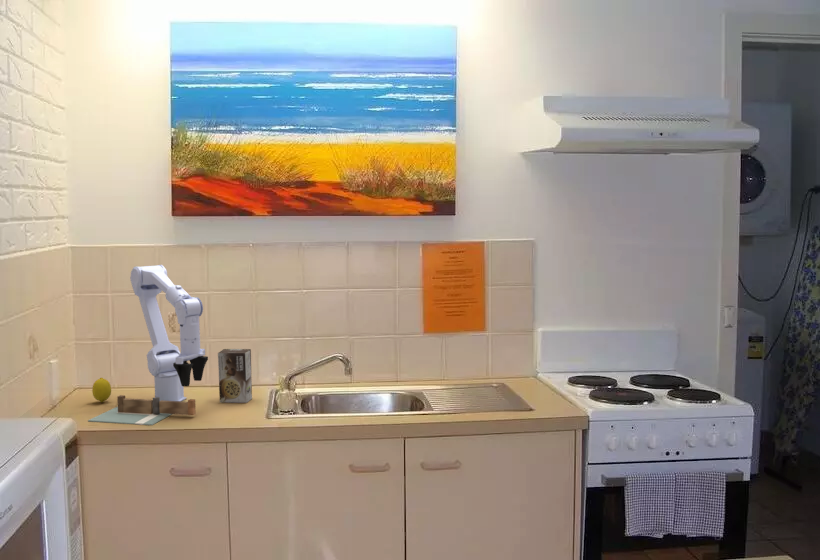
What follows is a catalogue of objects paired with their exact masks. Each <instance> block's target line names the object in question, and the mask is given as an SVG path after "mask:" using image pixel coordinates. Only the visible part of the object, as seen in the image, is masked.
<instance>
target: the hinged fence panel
mask: <svg viewBox="0 0 820 560" xmlns="http://www.w3.org/2000/svg"><path fill="white" fill-rule="evenodd" d="M196 405H197V404H196V399H195V398H190V399H188V400H187V401H164V400H161V401H159V410H160V413H163V414H172V415H182V416H183V415H185V416H195V415H196V411H197V410H196V408H197V407H196Z"/></svg>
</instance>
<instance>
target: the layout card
mask: <svg viewBox="0 0 820 560" xmlns="http://www.w3.org/2000/svg"><path fill="white" fill-rule="evenodd" d="M171 415H172V416H173V414H163V413H160V414H159V415H154V414H141V413H124V412H123V413H120V412H118V406H115V407H113V408H111V409H109V410H107V411H105V412H103V413H101V414H98V415H97V416H94V417H92V418H90V419H88V420H87V422H92V423H106V424H107V423H110V424H123V425H124V424H127V425H142V426H144V425H145V426H154V425H155V424H157V423H159V422H161V421H162V420H164V419H166V418H167V417H170V416H171Z"/></svg>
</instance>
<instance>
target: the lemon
mask: <svg viewBox="0 0 820 560" xmlns="http://www.w3.org/2000/svg"><path fill="white" fill-rule="evenodd" d="M91 392H92V396H93V398H94V399H95V400H97V401H99V402H100V403H105V401H106V400H108V399H109V398H110V397H111V394H112V385H111V382H109V381H108V380H107V379H106V378H103V377H100V378H98V379H96V380H95V381H94V382H93V385H92V390H91Z"/></svg>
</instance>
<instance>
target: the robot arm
mask: <svg viewBox="0 0 820 560" xmlns="http://www.w3.org/2000/svg"><path fill="white" fill-rule="evenodd" d="M130 283H131V287H132V290H133V293H134V295H135V296H136V297H138V300H139V304H140V307H141V310H142V314H143V317H144V320H145V324H146V327H147V331H148V334H149V338H150V341H151V346H152V347H151V349H149V351H148V352H147V354H146V360H147V369H148V371H149V373H150V375H152V376H153V378H154V397H159V398H160V401H161V400H164V401H182V402H184V401H185V400H186V399H187V396H185V395H184V393H185V391H184V389H185V388H184V387H189V386H190V383H191V373H192V376H193V380H194V382H201V381H202V379H203V374H204V371H205V366H206V364H207V361H208V360H209V356H206V349H205V348H201V332H200V331H201V329H200V328H201V327H200V317H201V316H202V314H203V312H204V306H203V302H202V300H201V299H200V297H194V296H191V295H190V294H189V293H188V292H187V291H186V290H185V289H184V288H183V286H182V285H181V284H179V285H178V284H174V283H173V281H172V280H171V279H170V277H168V271H167V268H165V266H164V265H163V264H158V265H145V266H144V265H143V266H137V265H136V266H133V267H132V269H131V272H130ZM162 292H164V293H165V299H166V300H167V302H168V303H170V304H171V306H172V307H173V308H174V311H175V314H176V318H177V319H176V320H177V323H178V324H179V338H180V339H179V342H180V343H179V344H180V348H179V346H178V345H176V344H174V343H171V341H170V340H169V335H168V333H167V330H166V326H165V323H164V320H163V317H162V312H161V310H160V306H159V303H158V300H157V297H158V295H159V294H160V293H162Z"/></svg>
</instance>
